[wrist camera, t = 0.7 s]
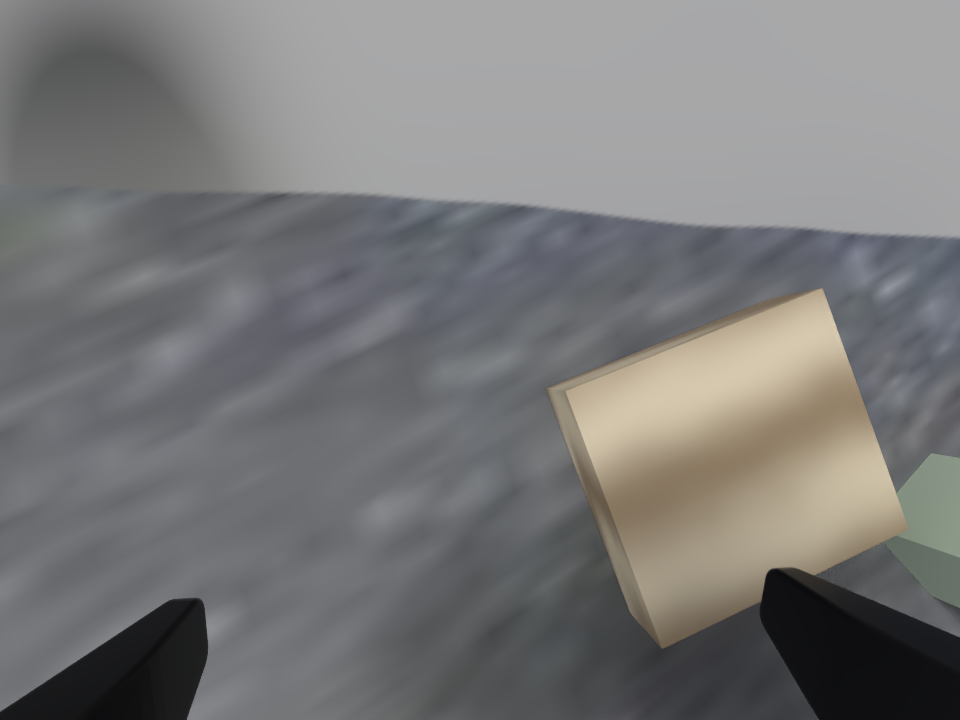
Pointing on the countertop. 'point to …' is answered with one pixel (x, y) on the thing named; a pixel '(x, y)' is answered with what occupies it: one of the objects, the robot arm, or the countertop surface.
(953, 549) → the tall block
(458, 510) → the countertop surface
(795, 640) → the robot arm
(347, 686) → the countertop surface
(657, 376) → the slab
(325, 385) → the countertop surface
